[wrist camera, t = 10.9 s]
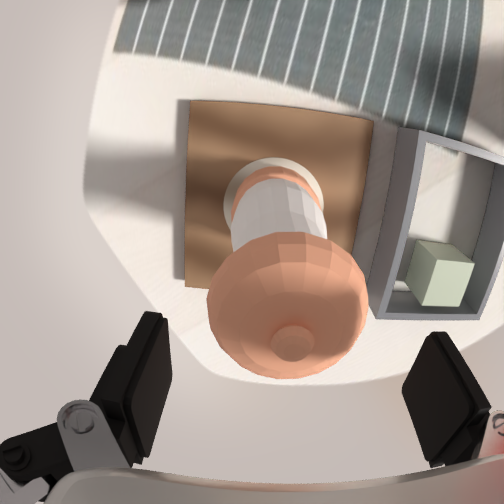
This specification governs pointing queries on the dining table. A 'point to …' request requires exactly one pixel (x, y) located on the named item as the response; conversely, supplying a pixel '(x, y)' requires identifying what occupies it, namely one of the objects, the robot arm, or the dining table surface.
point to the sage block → (438, 274)
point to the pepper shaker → (284, 282)
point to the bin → (397, 227)
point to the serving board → (264, 155)
